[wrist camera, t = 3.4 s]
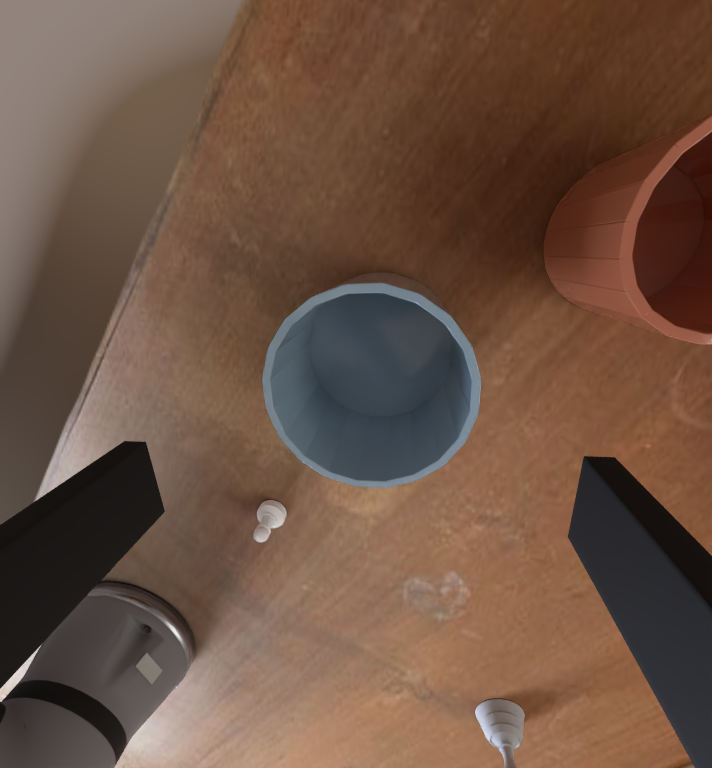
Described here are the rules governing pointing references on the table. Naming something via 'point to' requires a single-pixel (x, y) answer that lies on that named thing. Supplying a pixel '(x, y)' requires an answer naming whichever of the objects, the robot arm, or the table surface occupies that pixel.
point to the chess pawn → (269, 519)
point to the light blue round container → (372, 382)
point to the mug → (641, 236)
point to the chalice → (502, 726)
